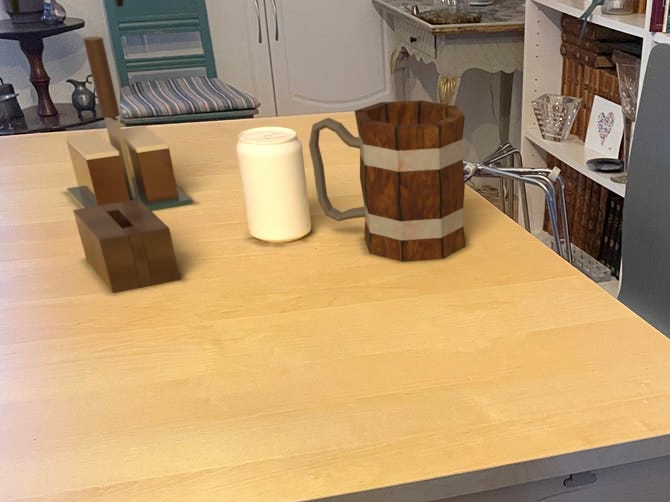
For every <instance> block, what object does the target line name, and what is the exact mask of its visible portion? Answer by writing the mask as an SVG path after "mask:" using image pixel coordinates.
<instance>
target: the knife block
mask: <svg viewBox="0 0 670 502" xmlns="http://www.w3.org/2000/svg"><path fill="white" fill-rule="evenodd" d="M73 215H74V219H75V222H76V226H77V230H78V233H79V237H80V241H81V245H82V248H83V252H84V256H85V260H86V261H87V262H88V264H89V265H90V267H91V268H92V269H93V270H94V272H96V274H97V275H98V276H99V278H100V279H101V280H102V281H103V283H104V284H105V285H106V286H107V288H108V289H109V290H110V291H111V292H112V293H113V294H114V293H119V292H124V291H125V292H126V291H129V290H135V289H139V288H144V287H149V286H150V287H151V286H156V285H159V284H164V283H170V282H174V281H175V282H176V281H179V280H181V278H180V272H179V268H178V263H177V258H176V254H175V250H174V244H173V238H172V234H171V230H170V229H171V228H170V227H169V226H168V225H167V224H166V223H165V222H164V221H163V220H162V219H161V218H159V216H157V215H156V214H155V212H154V211H153V210H150V209H149V208H148V207H147V206H146V205H144V204H143V203H142V202H141V201H140V200H139V199H138V200H132V201H126V202H119V203H113V204H107V205H101V206H95V207H89V208H77V209H73Z"/></svg>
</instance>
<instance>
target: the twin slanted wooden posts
mask: <svg viewBox="0 0 670 502" xmlns="http://www.w3.org/2000/svg"><path fill="white" fill-rule="evenodd" d="M121 131H122V136H123V140H124V144H125V149H126V153H127V158H128V162H129V167H130V171H131V175H132V180H133V184H134V189H135V193H136V197H137V199H132V198H131V197H130V196H129V195H128V190H127V186H126V182H125V177H124V173H123V169H122V164H121V160H120V156H119V151H118V150H117V149H116V148H114V147H113V146H112V145H111V144H110V141H109V140H107V139H105V138H104V137H103V136H102V135H101V134H100V133H99V132H97V131H93V132H87V133H86V132H85V133H79V134H71V135H65V141H66V145H67V150H68V153H69V156H70V160H71V163H72V169H73V170H74V176H75V179H76V183H77V186H73V187H67V188H66V191H67V193H68V194H69V196H70V197H71V198H72V199H73V200H74V202H76V203H77V204H78V206H79V207H80V209H82V208H89V207H95V206H101V205H107V204H113V203H119V202H126V201H132V200H138V199H139V200H140V201H141V202H142V203H143V204H144V205H146V206H147V207H148V208H149V209H150V210H151V211H156V210H162V209H163V210H164V209H168V208H175V207H180V206H181V207H182V206H186V205H192V204H193V198H192V197H190V195H187V194H186V193H185V192H184V191H182V189H181V188H180V187H178V186H177V181H176V177H175V172H174V166H173V162H172V156H171V151H170V146H169V142H167V141H165V140H164V139H163V138H161V137H160V136H159V135H158V134H156V133H154V131H152V130H150V128H148V127H147V126H146V125H140V126H133V127H125V128H121Z"/></svg>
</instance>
